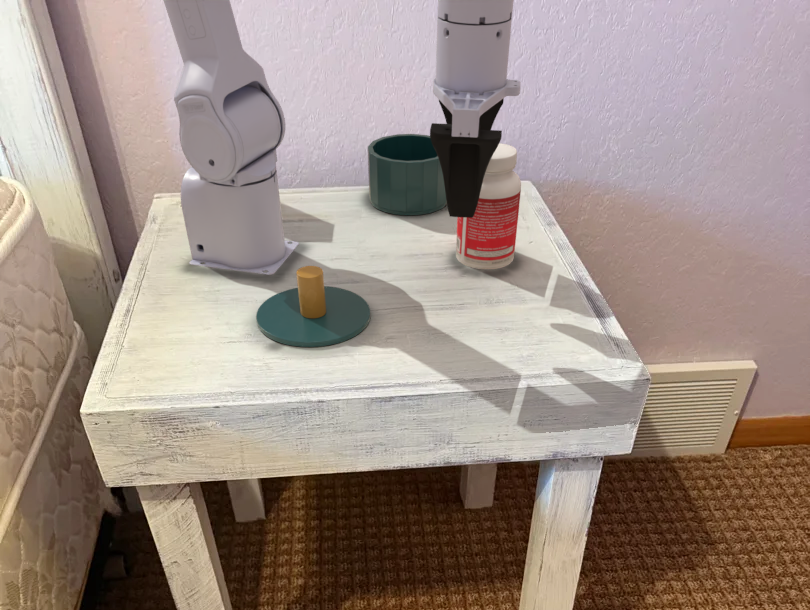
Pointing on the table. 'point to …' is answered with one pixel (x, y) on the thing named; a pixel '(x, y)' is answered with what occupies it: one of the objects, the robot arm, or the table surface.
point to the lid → (313, 313)
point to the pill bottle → (492, 216)
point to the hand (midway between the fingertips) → (463, 198)
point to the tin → (405, 175)
